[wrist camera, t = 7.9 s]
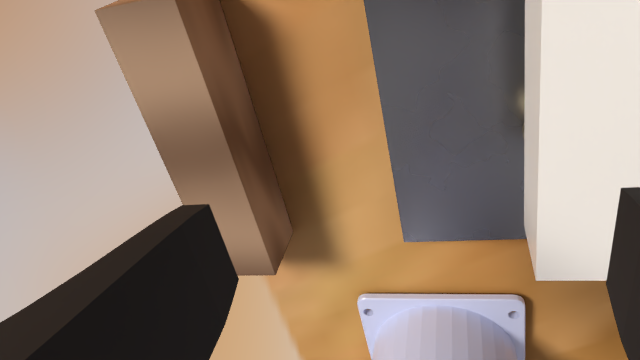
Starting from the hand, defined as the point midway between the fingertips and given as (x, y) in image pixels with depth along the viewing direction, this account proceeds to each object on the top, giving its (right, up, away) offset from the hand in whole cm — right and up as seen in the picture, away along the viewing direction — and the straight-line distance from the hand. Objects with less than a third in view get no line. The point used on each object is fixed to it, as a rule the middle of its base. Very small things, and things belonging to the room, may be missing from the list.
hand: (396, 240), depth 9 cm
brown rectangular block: (-5, +3, +12) cm, 14 cm away
